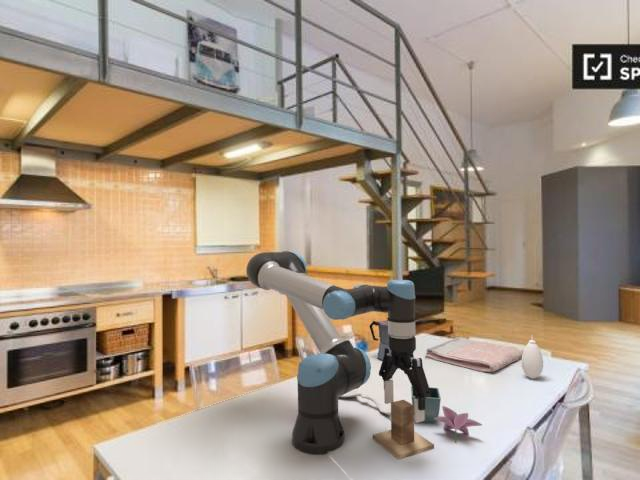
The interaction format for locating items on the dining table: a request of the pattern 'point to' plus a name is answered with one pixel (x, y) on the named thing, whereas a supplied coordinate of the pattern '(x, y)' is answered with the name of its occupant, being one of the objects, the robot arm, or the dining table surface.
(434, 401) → the flower pot
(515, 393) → the dining table surface
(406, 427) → the lid
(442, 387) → the dining table surface
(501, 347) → the towel
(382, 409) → the white spork
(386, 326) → the moka pot
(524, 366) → the white tall oval piece
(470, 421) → the lily
